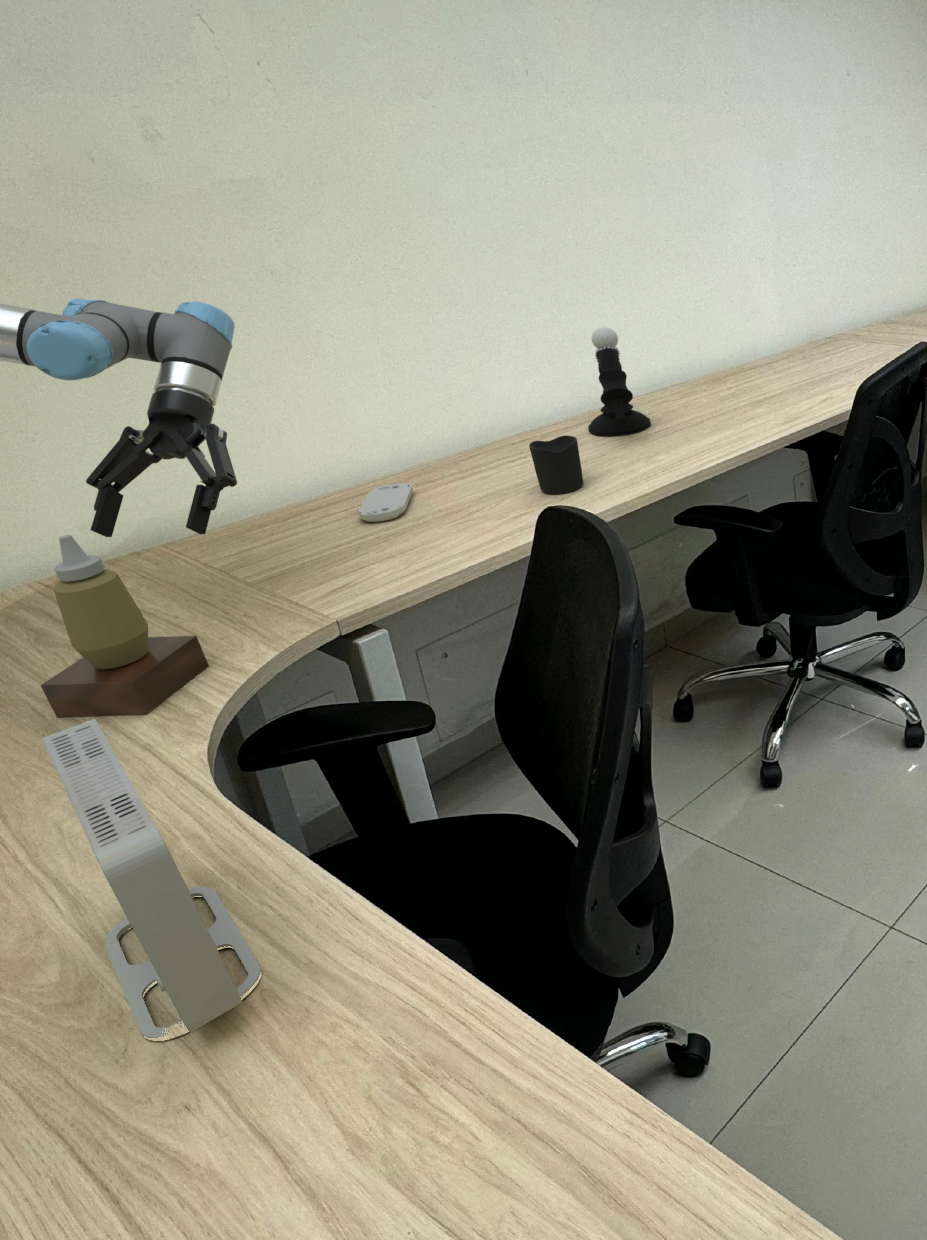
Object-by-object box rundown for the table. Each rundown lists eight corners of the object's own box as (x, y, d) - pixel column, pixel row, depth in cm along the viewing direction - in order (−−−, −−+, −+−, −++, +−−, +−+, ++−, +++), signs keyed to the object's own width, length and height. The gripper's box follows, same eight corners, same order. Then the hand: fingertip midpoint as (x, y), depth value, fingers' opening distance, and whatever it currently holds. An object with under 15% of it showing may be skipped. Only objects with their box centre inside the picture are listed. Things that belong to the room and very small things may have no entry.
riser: (56, 717, 119) (40, 685, 117) (126, 668, 130) (112, 638, 128) (146, 714, 119) (131, 682, 117) (209, 665, 130) (196, 635, 128)
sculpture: (647, 416, 239) (632, 319, 228) (658, 441, 219) (642, 336, 208) (587, 423, 235) (569, 325, 224) (592, 450, 214) (573, 343, 204)
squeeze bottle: (166, 638, 127) (115, 519, 119) (147, 666, 120) (91, 542, 112) (97, 651, 124) (39, 530, 117) (73, 680, 118) (10, 554, 110)
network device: (284, 1006, 77) (199, 822, 69) (160, 1080, 71) (51, 889, 63) (200, 866, 93) (122, 702, 84) (93, 917, 87) (-2, 747, 78)
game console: (400, 508, 177) (354, 514, 175) (404, 519, 178) (357, 526, 176) (413, 479, 193) (370, 484, 191) (416, 489, 194) (373, 495, 192)
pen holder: (572, 496, 187) (563, 449, 182) (530, 495, 188) (520, 449, 184) (593, 480, 195) (584, 435, 191) (552, 479, 197) (543, 435, 192)
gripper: (283, 409, 139) (253, 539, 132) (123, 415, 140) (84, 544, 132) (249, 384, 132) (215, 519, 125) (80, 390, 133) (37, 524, 125)
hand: (148, 532), depth 129 cm, fingers open, 13 cm apart
